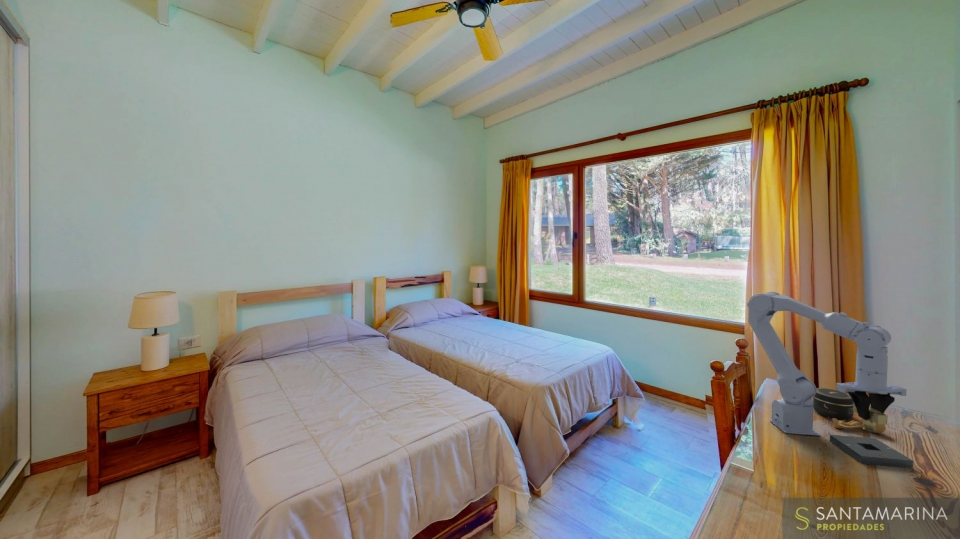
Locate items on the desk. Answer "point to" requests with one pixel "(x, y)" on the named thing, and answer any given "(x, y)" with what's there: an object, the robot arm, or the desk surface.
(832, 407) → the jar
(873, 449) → the key plate
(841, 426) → the figurine
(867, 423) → the t key
